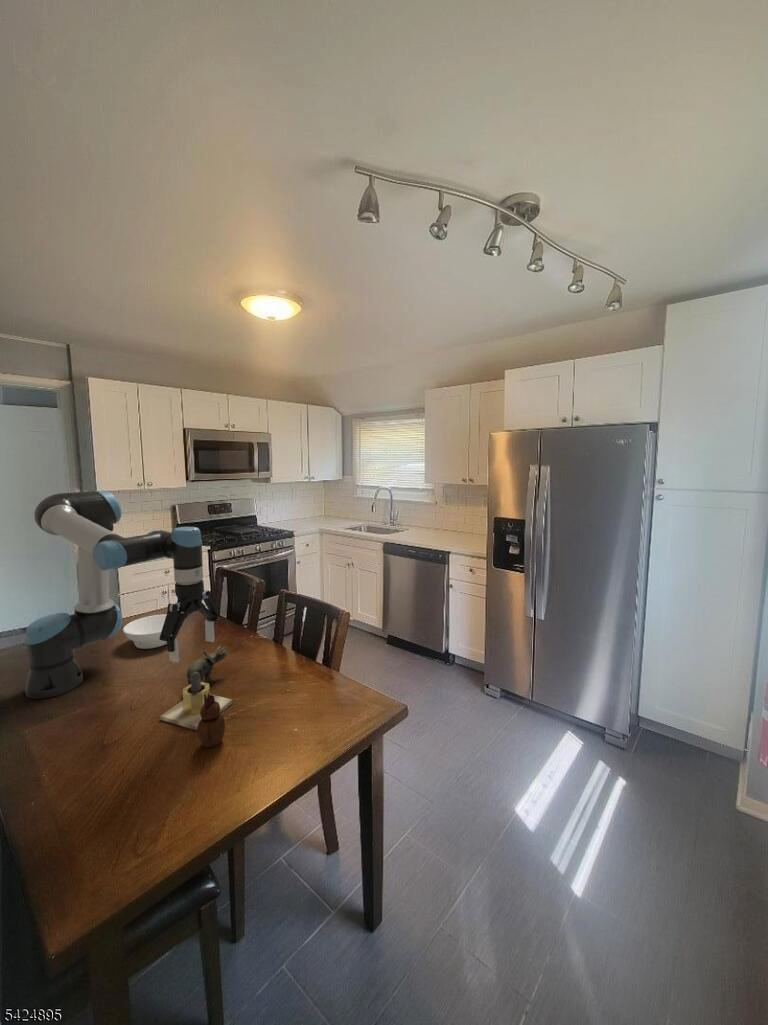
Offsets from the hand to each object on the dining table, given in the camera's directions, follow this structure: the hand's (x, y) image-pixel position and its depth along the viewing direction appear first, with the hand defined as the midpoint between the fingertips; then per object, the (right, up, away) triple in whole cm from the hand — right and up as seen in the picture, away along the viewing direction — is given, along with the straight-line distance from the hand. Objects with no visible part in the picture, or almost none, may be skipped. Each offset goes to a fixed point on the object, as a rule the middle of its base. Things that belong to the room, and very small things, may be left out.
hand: (193, 650), depth 124 cm
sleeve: (0, -18, +2) cm, 18 cm away
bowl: (-38, -13, +49) cm, 64 cm away
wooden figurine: (+10, -21, -11) cm, 26 cm away
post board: (0, -19, +2) cm, 19 cm away
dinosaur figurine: (-5, -18, +15) cm, 24 cm away
